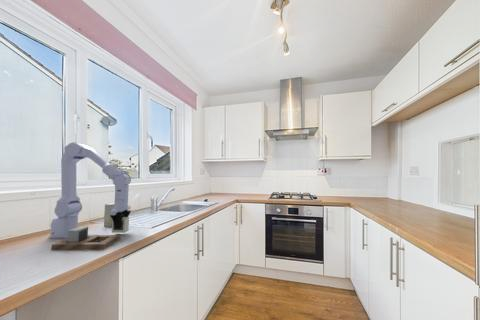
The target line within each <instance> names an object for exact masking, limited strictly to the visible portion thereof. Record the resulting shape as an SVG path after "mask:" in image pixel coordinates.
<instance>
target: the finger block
mask: <svg viewBox="0 0 480 320" xmlns="http://www.w3.org/2000/svg"><path fill="white" fill-rule="evenodd" d="M129 222H130V216H128V217H123V218H122V222H121V227H120V229H115V226H114V222H113V220H112V226H111V233H112V234H115V233H116V234H118V233H119V234H121V233H124V234H125V233H127V232H128V231H129V230H130V229H129V225H130V223H129Z"/></svg>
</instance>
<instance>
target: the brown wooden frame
mask: <svg viewBox="0 0 480 320" xmlns="http://www.w3.org/2000/svg"><path fill="white" fill-rule="evenodd" d="M121 237H122V235H121V234H88V238H87V239H85V240H83V241H81V242H79V243H68V238H63V239H62V240H59V241H57V242H55V243H52V244H51V250H52V251H58V250H61V251H62V250H63V251H69V250H75V251H77V250H80V251H82V250H83V251H84V250H86V251H87V250H89V251H90V250H91V251H92V250H94V251H96V250H98V251H99V250H102V251H105V249H107V248H109V247H110V246H112V245H113V244H115V243H117V242H119V241H121V239H122V238H121Z"/></svg>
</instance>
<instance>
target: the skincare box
mask: <svg viewBox="0 0 480 320" xmlns="http://www.w3.org/2000/svg"><path fill="white" fill-rule="evenodd" d="M114 203H115V202H112V203H105V204H104V215H103V219H104V220H103V227H108V228H110V227H111V228H112V218H111V216H110V211H111V210H113V209H114Z"/></svg>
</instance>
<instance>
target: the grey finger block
mask: <svg viewBox="0 0 480 320" xmlns="http://www.w3.org/2000/svg"><path fill="white" fill-rule="evenodd" d="M88 235H89V226H78V227H77V228H74V229H71V230H69V231H68V243H79V242H81V241H83V240H85V239H87V238H88Z"/></svg>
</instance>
